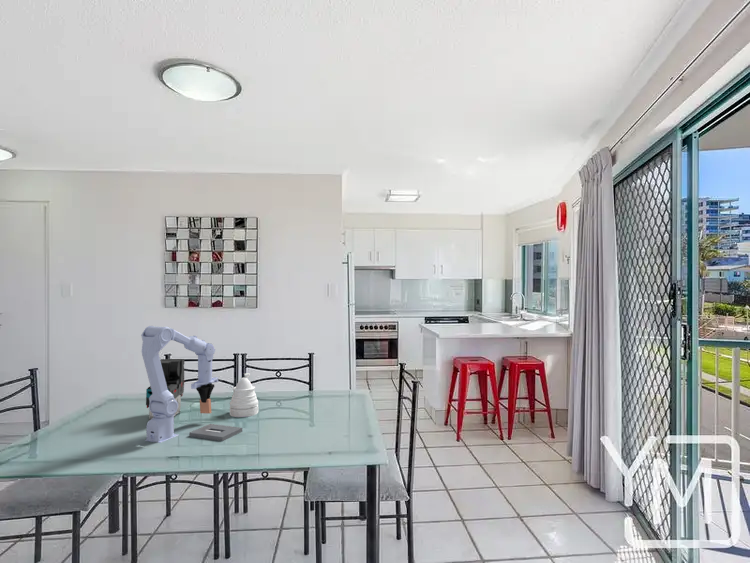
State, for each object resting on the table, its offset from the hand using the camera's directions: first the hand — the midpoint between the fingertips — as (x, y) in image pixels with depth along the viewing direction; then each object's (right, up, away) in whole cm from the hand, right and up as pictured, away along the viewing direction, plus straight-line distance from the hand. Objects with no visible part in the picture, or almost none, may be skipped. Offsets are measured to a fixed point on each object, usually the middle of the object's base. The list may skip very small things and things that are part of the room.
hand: (205, 401), depth 199 cm
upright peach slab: (0, -5, 0) cm, 5 cm away
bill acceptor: (-21, -10, +9) cm, 25 cm away
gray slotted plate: (+10, -9, -16) cm, 21 cm away
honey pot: (+12, -10, +16) cm, 22 cm away
